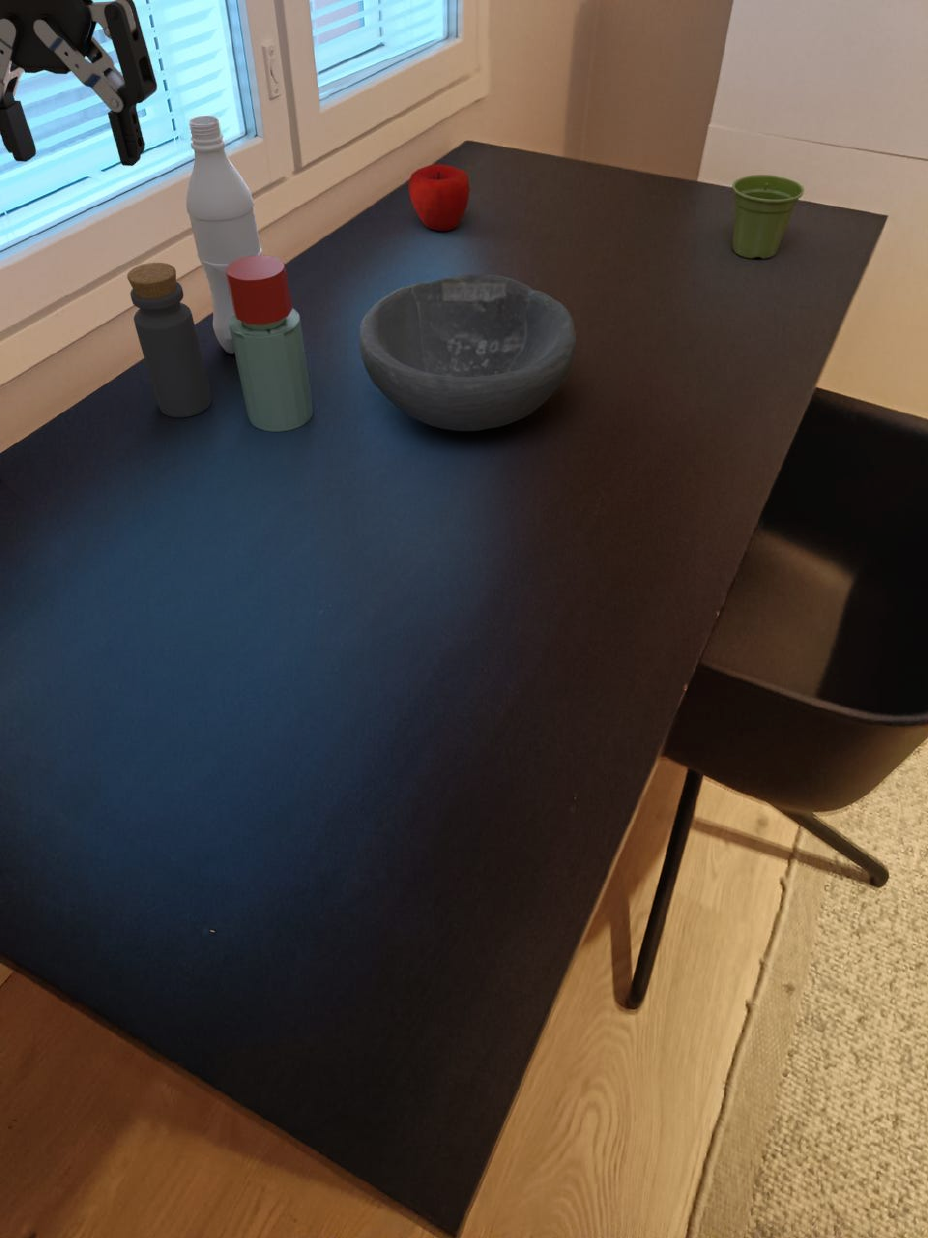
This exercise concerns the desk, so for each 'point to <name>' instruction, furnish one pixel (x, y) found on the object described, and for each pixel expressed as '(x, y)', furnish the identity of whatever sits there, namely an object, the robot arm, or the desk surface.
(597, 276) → the desk surface
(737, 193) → the plant pot
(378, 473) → the desk surface
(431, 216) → the apple
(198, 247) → the water bottle
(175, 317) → the bottle
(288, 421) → the ceramic bottle
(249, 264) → the cap
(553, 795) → the desk surface
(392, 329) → the bowl
